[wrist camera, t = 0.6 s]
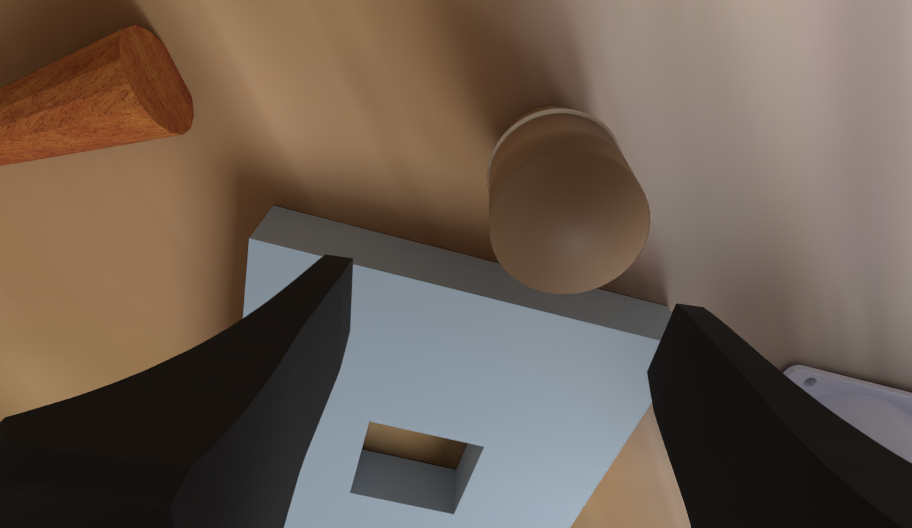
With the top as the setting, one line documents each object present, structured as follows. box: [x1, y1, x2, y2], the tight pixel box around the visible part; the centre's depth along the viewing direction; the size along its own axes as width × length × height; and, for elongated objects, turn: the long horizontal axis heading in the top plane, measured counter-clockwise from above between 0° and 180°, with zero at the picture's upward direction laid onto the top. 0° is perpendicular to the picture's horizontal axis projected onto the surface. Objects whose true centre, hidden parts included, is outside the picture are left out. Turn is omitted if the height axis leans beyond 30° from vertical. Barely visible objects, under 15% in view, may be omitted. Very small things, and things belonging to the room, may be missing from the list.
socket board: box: [243, 206, 672, 528], centre depth 26 cm, size 16×20×2 cm
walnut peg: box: [487, 105, 650, 294], centre depth 17 cm, size 4×4×6 cm
